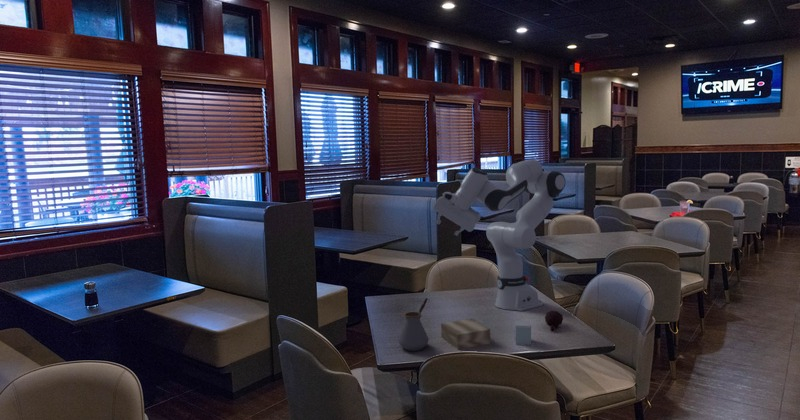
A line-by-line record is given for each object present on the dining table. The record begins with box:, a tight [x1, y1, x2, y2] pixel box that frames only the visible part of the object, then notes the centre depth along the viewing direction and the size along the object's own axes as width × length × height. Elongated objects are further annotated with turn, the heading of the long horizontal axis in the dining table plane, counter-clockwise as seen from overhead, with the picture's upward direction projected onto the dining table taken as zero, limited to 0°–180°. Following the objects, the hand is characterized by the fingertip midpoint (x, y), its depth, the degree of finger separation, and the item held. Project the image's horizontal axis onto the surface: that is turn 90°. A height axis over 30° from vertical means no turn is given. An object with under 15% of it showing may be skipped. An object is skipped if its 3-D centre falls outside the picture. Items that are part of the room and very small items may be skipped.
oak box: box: [440, 318, 491, 350], centre depth 211 cm, size 14×14×6 cm
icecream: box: [544, 310, 564, 333], centre depth 224 cm, size 7×7×15 cm
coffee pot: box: [398, 297, 431, 352], centre depth 210 cm, size 21×12×15 cm, turn 156°
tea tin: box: [514, 320, 532, 345], centre depth 208 cm, size 6×6×8 cm
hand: (446, 229), depth 238 cm, fingers open, 8 cm apart
